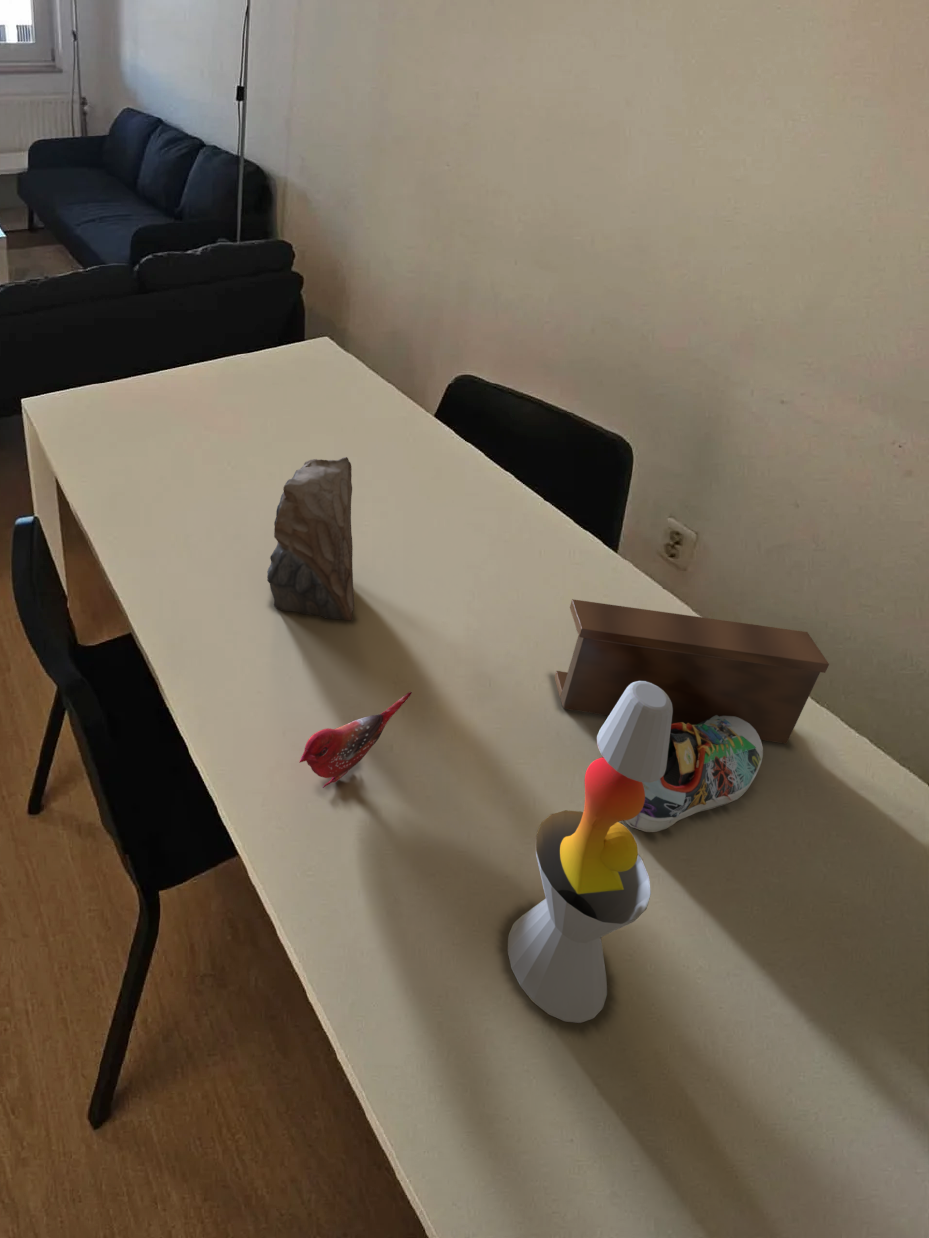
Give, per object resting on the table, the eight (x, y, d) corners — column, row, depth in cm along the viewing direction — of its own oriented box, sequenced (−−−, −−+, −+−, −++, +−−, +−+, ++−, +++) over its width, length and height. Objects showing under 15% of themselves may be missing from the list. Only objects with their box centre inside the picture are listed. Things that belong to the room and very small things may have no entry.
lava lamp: (532, 1030, 66) (628, 756, 52) (489, 913, 74) (563, 649, 60) (630, 1019, 67) (750, 747, 53) (577, 905, 75) (669, 643, 61)
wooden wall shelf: (772, 710, 96) (807, 631, 91) (791, 744, 92) (829, 664, 87) (550, 676, 100) (571, 598, 95) (558, 708, 96) (581, 628, 90)
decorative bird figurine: (286, 799, 84) (291, 737, 80) (397, 718, 93) (406, 659, 89) (303, 821, 82) (309, 758, 78) (414, 736, 91) (425, 676, 87)
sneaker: (778, 773, 88) (805, 715, 84) (655, 858, 79) (680, 798, 75) (715, 720, 94) (738, 664, 90) (595, 794, 86) (615, 735, 82)
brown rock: (264, 610, 109) (271, 496, 101) (273, 550, 120) (281, 444, 112) (352, 623, 107) (367, 508, 99) (354, 561, 119) (367, 454, 111)
